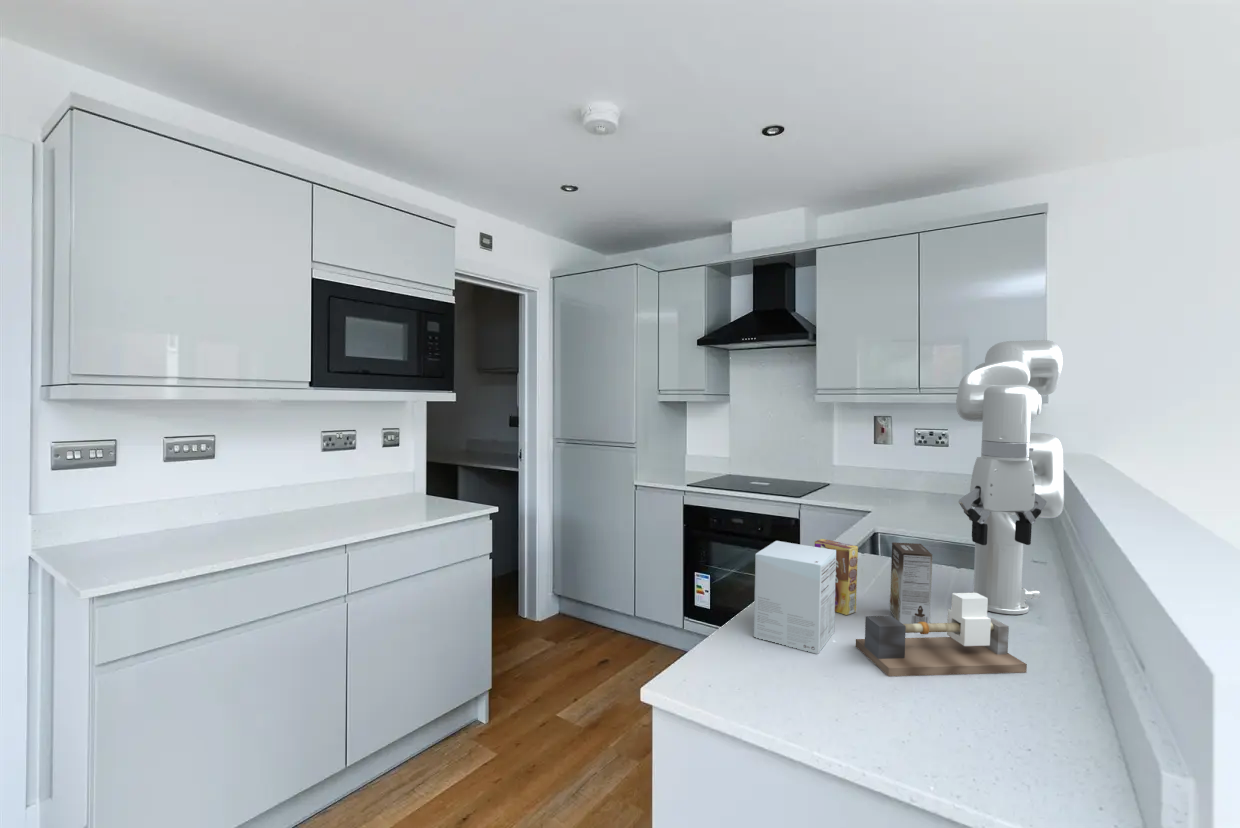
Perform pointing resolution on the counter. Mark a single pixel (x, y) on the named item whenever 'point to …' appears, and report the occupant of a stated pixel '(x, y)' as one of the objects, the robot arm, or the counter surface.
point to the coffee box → (910, 583)
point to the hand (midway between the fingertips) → (1001, 542)
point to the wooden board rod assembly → (934, 649)
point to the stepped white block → (970, 619)
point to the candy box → (843, 574)
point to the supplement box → (795, 595)
